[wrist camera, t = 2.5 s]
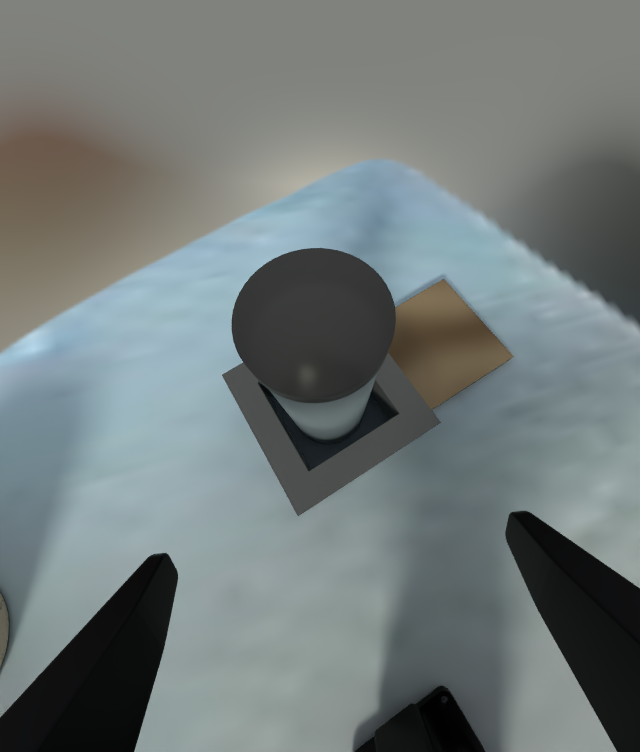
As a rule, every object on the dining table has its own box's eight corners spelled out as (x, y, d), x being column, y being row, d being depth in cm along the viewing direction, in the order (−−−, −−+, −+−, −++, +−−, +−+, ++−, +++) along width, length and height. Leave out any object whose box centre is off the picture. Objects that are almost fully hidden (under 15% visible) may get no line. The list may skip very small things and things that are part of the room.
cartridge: (378, 420, 23) (430, 337, 10) (316, 459, 22) (281, 429, 9) (339, 363, 24) (337, 224, 11) (280, 398, 24) (205, 296, 11)
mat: (510, 358, 24) (513, 356, 23) (422, 415, 23) (424, 414, 22) (441, 282, 26) (443, 278, 26) (360, 331, 25) (360, 328, 25)
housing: (425, 431, 22) (440, 422, 19) (304, 510, 21) (298, 516, 18) (348, 324, 25) (349, 301, 22) (238, 389, 24) (221, 374, 21)
